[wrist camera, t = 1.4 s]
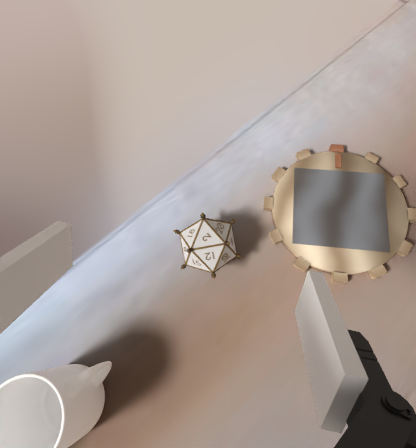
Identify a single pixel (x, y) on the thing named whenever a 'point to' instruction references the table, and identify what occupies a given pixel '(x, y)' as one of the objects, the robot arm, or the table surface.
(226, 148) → the table surface
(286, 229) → the sprocket plate
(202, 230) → the game die
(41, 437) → the mug
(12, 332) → the table surface
